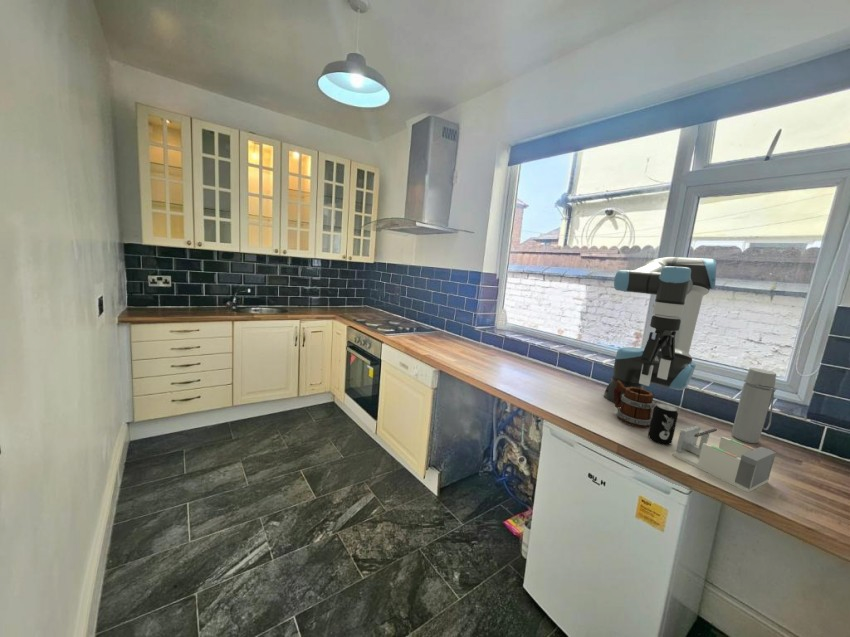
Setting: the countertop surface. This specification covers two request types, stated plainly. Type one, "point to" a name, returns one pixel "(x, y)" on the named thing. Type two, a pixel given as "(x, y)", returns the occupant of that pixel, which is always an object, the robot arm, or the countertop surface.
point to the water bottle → (754, 405)
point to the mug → (633, 405)
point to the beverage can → (663, 423)
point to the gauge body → (733, 463)
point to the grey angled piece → (692, 439)
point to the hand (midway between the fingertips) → (653, 381)
